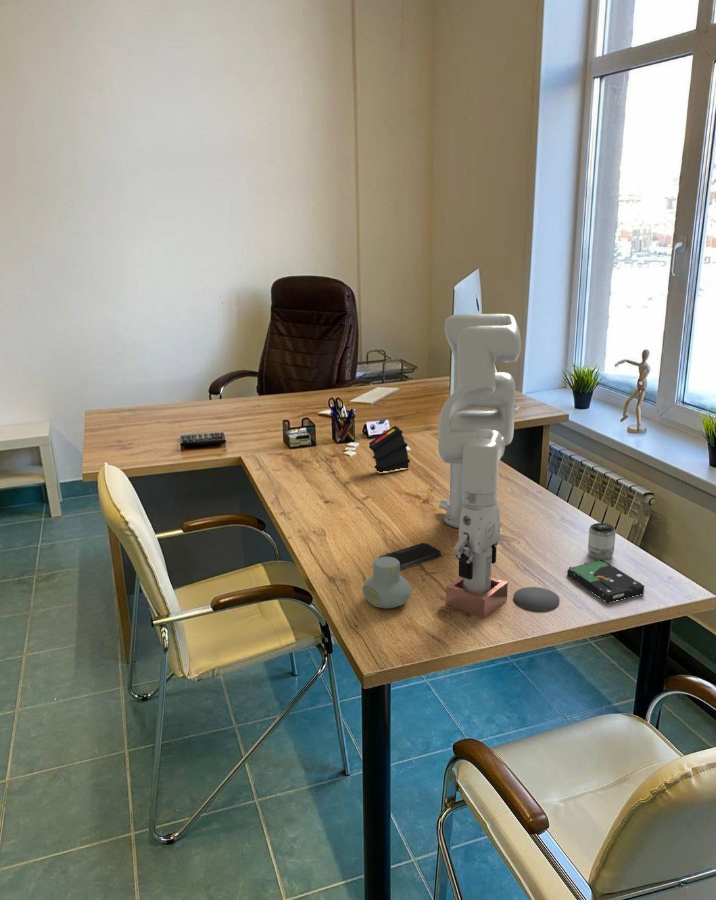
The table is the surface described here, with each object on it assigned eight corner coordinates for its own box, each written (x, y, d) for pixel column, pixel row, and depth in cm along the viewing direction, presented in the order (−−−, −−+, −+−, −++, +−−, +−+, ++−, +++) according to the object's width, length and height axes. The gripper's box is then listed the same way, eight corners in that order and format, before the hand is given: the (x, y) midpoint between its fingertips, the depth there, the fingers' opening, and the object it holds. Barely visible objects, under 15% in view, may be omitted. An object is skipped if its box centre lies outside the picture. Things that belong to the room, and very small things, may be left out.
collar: (445, 604, 170) (446, 586, 169) (469, 587, 177) (470, 569, 176) (484, 618, 164) (484, 599, 163) (507, 600, 171) (507, 582, 170)
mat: (505, 601, 171) (505, 599, 171) (527, 584, 178) (527, 582, 178) (546, 616, 164) (546, 614, 164) (567, 597, 172) (567, 595, 172)
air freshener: (358, 598, 174) (356, 558, 171) (386, 587, 179) (386, 548, 175) (387, 618, 166) (386, 576, 162) (416, 606, 170) (416, 565, 167)
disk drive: (644, 596, 173) (600, 568, 186) (645, 585, 172) (601, 558, 185) (607, 606, 169) (565, 577, 182) (608, 595, 168) (566, 566, 181)
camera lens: (618, 559, 189) (620, 530, 187) (594, 561, 188) (596, 532, 186) (606, 548, 195) (608, 519, 193) (583, 550, 194) (585, 522, 192)
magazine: (418, 463, 255) (400, 427, 248) (386, 485, 252) (367, 449, 245) (412, 460, 258) (395, 424, 251) (381, 482, 255) (362, 446, 248)
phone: (443, 552, 193) (394, 568, 186) (443, 557, 194) (394, 572, 186) (424, 542, 199) (376, 556, 192) (424, 546, 200) (376, 560, 192)
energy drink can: (465, 594, 174) (466, 534, 170) (491, 597, 173) (493, 536, 168) (460, 607, 169) (462, 545, 164) (488, 610, 167) (490, 548, 163)
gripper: (472, 513, 154) (471, 589, 159) (515, 488, 167) (512, 560, 172) (441, 504, 159) (441, 579, 164) (485, 481, 171) (483, 551, 177)
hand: (477, 569), depth 168 cm, fingers open, 9 cm apart
